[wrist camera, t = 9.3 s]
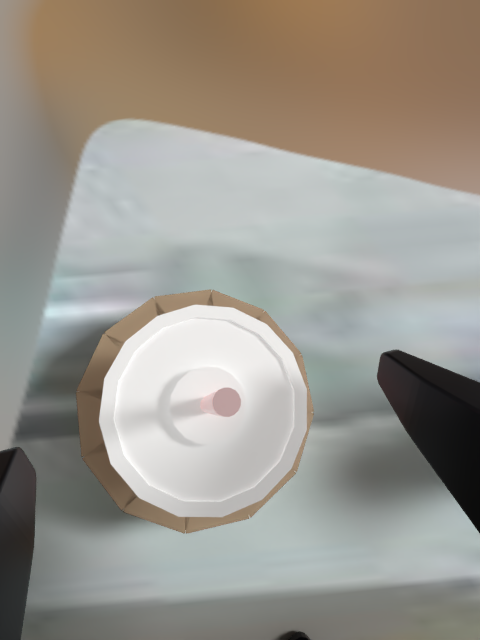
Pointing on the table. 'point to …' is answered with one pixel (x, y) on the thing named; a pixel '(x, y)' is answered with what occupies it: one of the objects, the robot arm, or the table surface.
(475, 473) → the robot arm
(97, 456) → the holder ring
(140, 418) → the beverage cup
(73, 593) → the table surface
